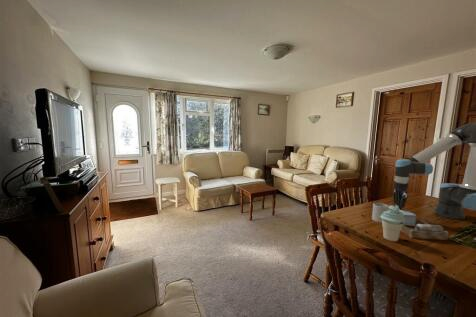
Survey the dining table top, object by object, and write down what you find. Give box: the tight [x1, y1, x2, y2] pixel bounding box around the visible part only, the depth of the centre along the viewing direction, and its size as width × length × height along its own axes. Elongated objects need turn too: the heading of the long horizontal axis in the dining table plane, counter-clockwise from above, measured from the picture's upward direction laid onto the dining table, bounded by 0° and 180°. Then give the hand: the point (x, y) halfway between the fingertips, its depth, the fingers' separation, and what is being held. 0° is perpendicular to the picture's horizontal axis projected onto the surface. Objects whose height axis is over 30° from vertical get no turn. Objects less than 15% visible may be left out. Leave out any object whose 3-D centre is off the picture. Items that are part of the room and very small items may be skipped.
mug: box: [371, 202, 389, 224], centre depth 135 cm, size 12×8×11 cm
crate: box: [401, 209, 417, 227], centre depth 130 cm, size 8×8×7 cm
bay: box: [400, 217, 449, 241], centre depth 121 cm, size 18×23×8 cm
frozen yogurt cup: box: [380, 204, 406, 242], centre depth 110 cm, size 10×11×20 cm
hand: (397, 215), depth 137 cm, fingers closed
